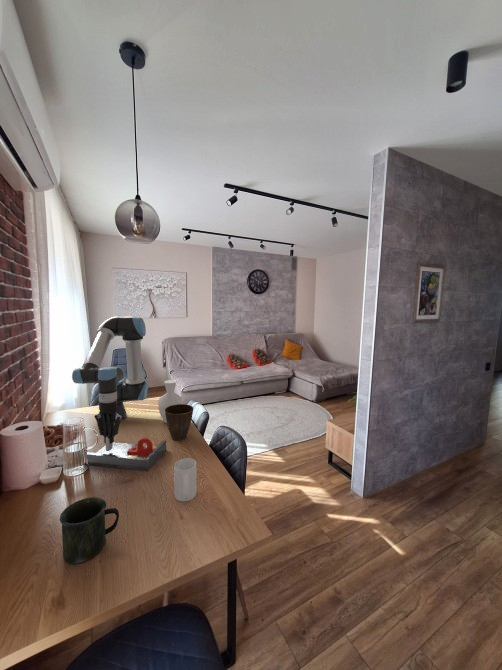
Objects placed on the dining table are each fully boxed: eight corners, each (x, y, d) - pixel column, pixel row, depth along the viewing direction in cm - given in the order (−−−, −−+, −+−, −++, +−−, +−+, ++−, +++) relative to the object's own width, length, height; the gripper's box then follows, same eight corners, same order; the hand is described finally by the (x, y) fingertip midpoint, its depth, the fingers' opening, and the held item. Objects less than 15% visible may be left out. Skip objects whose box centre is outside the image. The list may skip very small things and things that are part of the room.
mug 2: (173, 511, 92) (173, 478, 91) (173, 489, 104) (173, 459, 103) (198, 507, 95) (198, 474, 94) (195, 485, 106) (195, 456, 105)
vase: (172, 414, 178) (172, 377, 176) (187, 420, 170) (187, 381, 168) (153, 421, 166) (153, 381, 164) (168, 427, 158) (168, 386, 156)
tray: (110, 444, 137) (109, 435, 136) (166, 450, 133) (166, 440, 132) (83, 464, 119) (83, 453, 119) (147, 471, 115) (147, 460, 115)
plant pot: (191, 429, 156) (191, 403, 155) (194, 441, 142) (194, 412, 140) (164, 433, 151) (164, 405, 150) (165, 445, 137) (164, 415, 136)
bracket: (156, 451, 129) (155, 435, 128) (151, 455, 124) (151, 439, 124) (132, 448, 131) (132, 433, 130) (127, 453, 126) (126, 437, 125)
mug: (65, 541, 80) (63, 503, 79) (119, 525, 86) (119, 489, 85) (57, 573, 70) (55, 530, 69) (119, 552, 76) (118, 513, 75)
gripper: (89, 402, 122) (90, 452, 124) (116, 404, 120) (117, 455, 122) (100, 397, 129) (102, 444, 131) (125, 399, 128) (126, 446, 130)
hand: (109, 449), depth 127 cm, fingers closed
